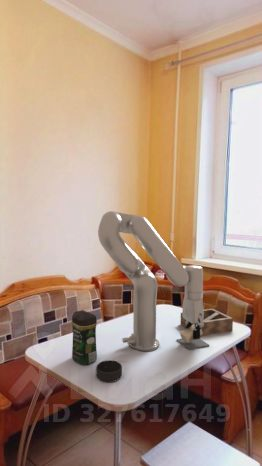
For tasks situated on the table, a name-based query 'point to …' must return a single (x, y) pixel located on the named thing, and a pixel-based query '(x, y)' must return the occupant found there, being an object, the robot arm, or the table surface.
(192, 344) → the rubber mat
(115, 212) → the robot arm
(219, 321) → the block
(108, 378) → the black round bowl
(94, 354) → the coffee jar
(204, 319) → the lever
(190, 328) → the tan rectangular block
